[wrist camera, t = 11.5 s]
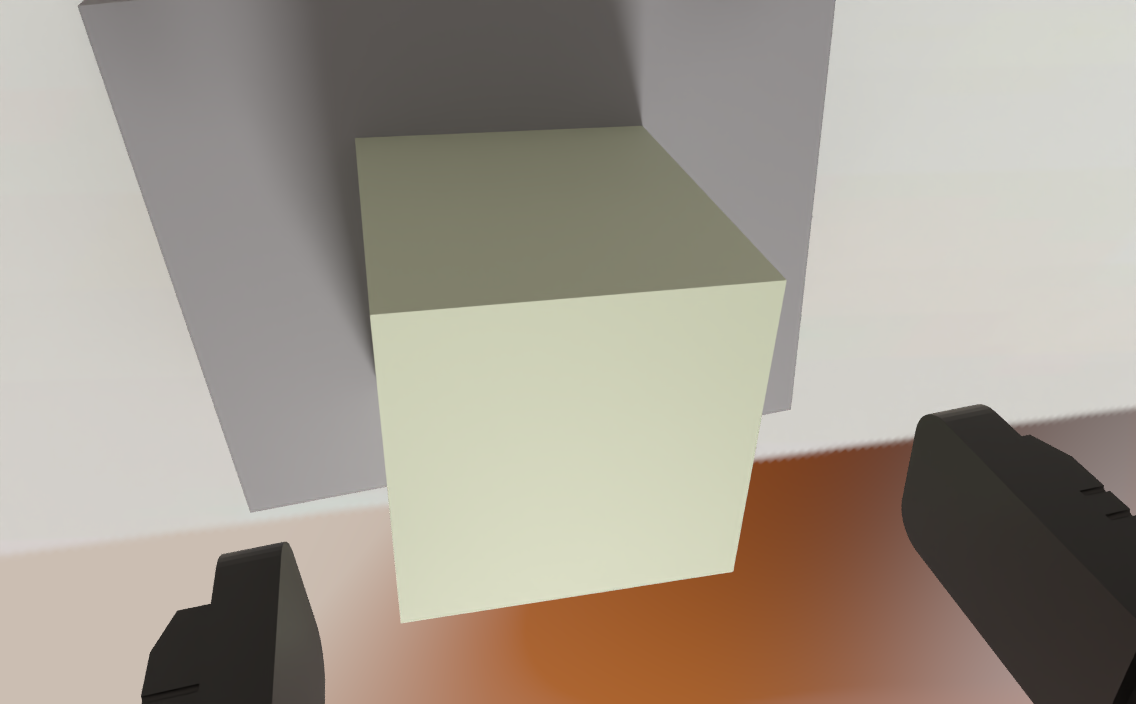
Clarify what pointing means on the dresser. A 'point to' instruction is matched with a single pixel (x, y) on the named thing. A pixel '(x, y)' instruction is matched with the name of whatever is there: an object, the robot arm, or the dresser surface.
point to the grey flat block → (406, 108)
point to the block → (559, 364)
